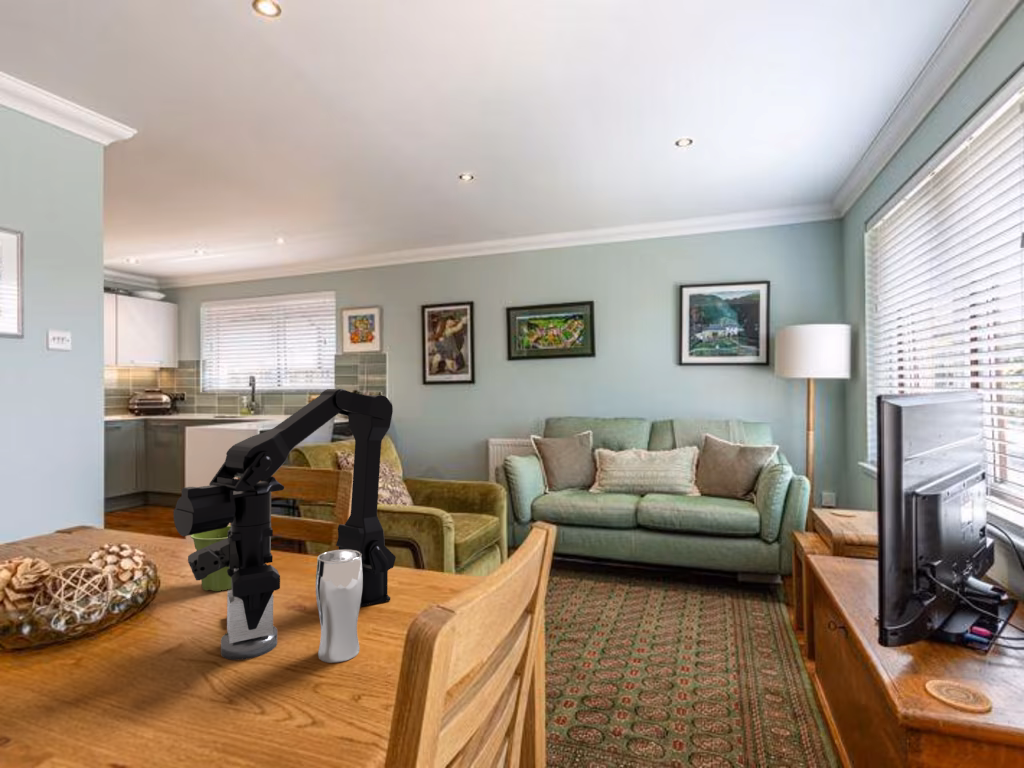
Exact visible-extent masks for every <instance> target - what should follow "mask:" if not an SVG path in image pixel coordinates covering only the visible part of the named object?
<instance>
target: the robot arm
mask: <svg viewBox="0 0 1024 768" xmlns="http://www.w3.org/2000/svg"><path fill="white" fill-rule="evenodd" d="M393 412H394V408H393V404H392V402H391V401H390V400H389V398H388V397H387V396H385V395H382V394H377V395H375V394H374V395H373V394H361V393H356V392H351V391H349V390H346V389H344V388H331V389H330V388H326V389H325V390H323V391H322V392H321V393H320V395H318V396H317V397H316V398H314V399H313V400H312V401H310V402H308V403H307V404H305V405H304V406H302V407H301V408H300V409H298V410H297V411H295V412H294V413H293V414H291V415H290V416H288V417H287V418H286V419H284V420H283V421H282V422H280V423H278V424H277V425H276V426H274V427H273V428H272V429H269V430H267V431H265V432H261V433H258V434H256V435H255V434H254V435H252V436H250V437H247V438H245V439H244V440H241V441H239V442H237V443H235V444H233V445H232V446H230V448H229V449H228V450H227V452H226V453H225V454H226V457H225V460H224V463H223V464H222V465H221V467H220V468H219V469H218V470H217V472H216V474H215V475H214V476H213V477H212V479H211V481H210V482H209V485H204V486H186V487H182V489H181V496H180V497H179V498H178V499H177V501H176V505H175V508H174V509H173V522H174V527H175V529H176V531H177V533H178V534H179V535H180V536H182V537H188V536H190V535H193V534H198V533H203V532H208V531H213V530H217V529H222V528H226V527H227V526H231V528H230V530H228V538H227V539H224V540H222V541H219V542H216V543H214V544H211V545H209V546H207V547H205V548H202V549H200V550H198V551H196V550H195V551H194V552H191V553H190V554H188V556H187V562H188V565H189V567H190V570H191V572H192V574H193V576H194V578H195V580H196V581H201V579H204V578H206V577H207V575H209V574H211V573H213V572H215V571H218V570H220V569H222V568H224V567H229V569H227V573H228V575H229V576H230V577H231V589H230V590H232V595H233V597H238V598H240V599H242V600H243V605H244V610H245V615H246V620H247V625H248V629H249V630H253V629H256V628H257V626H258V624H259V621H260V619H261V617H262V615H263V613H264V610H265V608H266V606H267V604H268V602H269V600H270V598H271V596H272V594H273V593H274V592H275V591H278V590H279V589H281V575H280V573H279V570H278V569H276V568H275V566H273V565H271V564H270V563H273V561H274V560H273V554H272V551H271V550H272V548H271V546H272V545H271V544H272V542H271V540H272V539H271V537H273V535H274V532H273V531H274V530H273V527H272V493H275V492H278V491H279V492H280V491H283V490H284V489H285V485H283V484H281V482H279V480H277V479H276V478H275V476H273V475H275V473H277V472H278V470H279V469H280V468H281V467H282V466H283V465H284V464H285V463H286V462H287V459H288V457H289V454H290V453H291V451H293V449H294V448H295V447H296V446H298V445H299V444H301V443H302V442H303V441H304V440H306V439H307V438H308V437H309V436H311V435H312V434H314V433H315V432H316V431H317V430H318V429H320V428H321V427H323V426H324V425H325V424H326V423H328V422H329V421H331V420H332V419H333V418H335V417H336V416H337V415H338V414H339V415H341V416H346V417H347V418H348V419H347V420H348V427H349V428H350V432H351V434H352V436H353V438H354V455H353V472H352V473H353V474H352V488H351V502H350V514H349V516H348V518H347V520H346V522H345V523H344V524H342V523H340V524H338V526H337V541H336V544H335V546H336V547H338V550H356V551H359V552H361V553H362V568H363V590H362V598H361V604H360V608H361V607H365V606H369V605H374V604H375V605H376V604H380V603H383V602H389V601H391V596H390V595H389V594H388V589H389V588H388V585H389V584H388V581H389V579H388V577H389V575H388V574H389V570H391V569H393V568H394V566H395V562H396V557H397V556H396V555H395V554H394V553H393V552H392V551H391V550H390V549H389V548H388V547H387V546H385V533H384V532H385V531H384V528H383V526H382V524H381V522H380V520H379V517H378V505H379V504H378V503H379V502H378V501H379V489H380V488H379V487H380V484H379V483H380V473H381V472H380V471H381V469H380V467H381V451H382V443H383V442H382V441H383V439H384V437H385V436H386V435H387V433H388V431H389V429H390V427H391V424H392V416H393ZM273 595H274V594H273Z"/></svg>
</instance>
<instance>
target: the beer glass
mask: <svg viewBox="0 0 1024 768" xmlns="http://www.w3.org/2000/svg"><path fill="white" fill-rule="evenodd" d="M316 560H317V562H316V571H315V597H316V598H315V599H316V605H317V611H318V617H319V622H320V623H319V624H320V640H319V641H320V642H319V646H318V647H319V648H318V653H317V658H318V659H319V660H321V661H322V662H324V663H328V664H329V663H331V664H333V663H334V664H335V663H343V662H346V661H349V660H352V659H353V658H355V657H356V656H357V655H358V654H359V652H360V642H359V637H358V619H359V614H360V608H361V607H360V604H361V598H362V590H363V568H362V553H361V552H359V551H356V550H339V549H335V550H334V549H333V550H329V551H326V552H323V553H320V554H319V555H318V556H317V559H316Z"/></svg>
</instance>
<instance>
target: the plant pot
mask: <svg viewBox="0 0 1024 768" xmlns="http://www.w3.org/2000/svg"><path fill="white" fill-rule="evenodd" d="M230 528H231V525H228V526H227V527H226V528H222V529H217V530H213V531H208V532H203V533H198V534H193V535H189V536H190V538H191V539H192V541H193V545H194V548H195V552H196V551H198V550H200V549H202V548H205V547H207V546H209V545H211V544H214V543H216V542H219V541H222V540H224V539H227V538H228V530H230ZM227 569H229V567H224V568H222V569H220V570H218V571H215V572H213V573H211V574H209V575H207V577H206V578H204V579H201V580H200V581H201V587H202V590H204V591H209V590H210V591H213V592H222V591H225V590H226V591H228V590H231V577H230V576H229V575H228V573H227ZM227 589H228V590H227ZM221 590H222V591H221Z"/></svg>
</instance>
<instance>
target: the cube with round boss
mask: <svg viewBox="0 0 1024 768" xmlns="http://www.w3.org/2000/svg"><path fill="white" fill-rule="evenodd" d="M226 591H227V592H226V595H227V598H226V599H227V601H226V602H227V603H226V605H227V606H226V607H227V611H226V614H227V615H226V631H227V632H228V637H229V643H234V642H239V641H243V640H248V639H253V638H258V637H262V636H267V635H272V634H273V626H274V594H272V596H271V598H270V600H269V602H268V604H267V606H266V608H265V610H264V613H263V615H262V617H261V619H260V621H259V624H258V626H257V628H256V629H253V630H249V629H248V625H247V620H246V615H245V610H244V605H243V600H242V599H240V598H238V597H233V595H232V590H231V589H228V590H226Z"/></svg>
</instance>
